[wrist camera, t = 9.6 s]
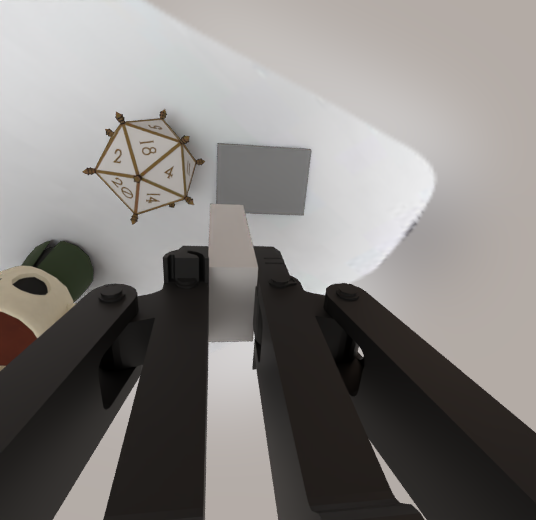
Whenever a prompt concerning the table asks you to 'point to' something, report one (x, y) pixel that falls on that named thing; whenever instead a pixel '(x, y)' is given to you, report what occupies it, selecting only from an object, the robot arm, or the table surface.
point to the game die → (146, 165)
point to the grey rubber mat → (263, 178)
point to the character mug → (39, 294)
